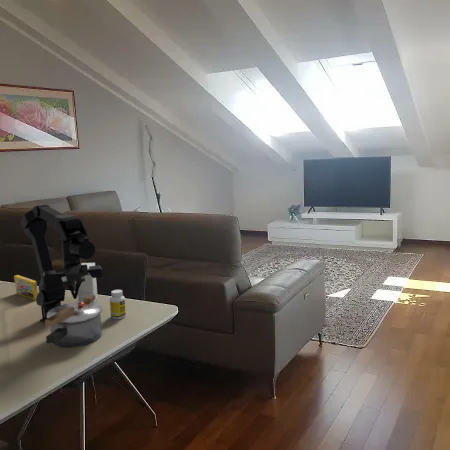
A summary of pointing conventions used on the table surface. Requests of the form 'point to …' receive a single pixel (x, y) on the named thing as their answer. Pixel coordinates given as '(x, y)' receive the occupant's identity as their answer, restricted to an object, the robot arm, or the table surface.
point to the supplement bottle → (117, 304)
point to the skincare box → (88, 286)
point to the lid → (73, 312)
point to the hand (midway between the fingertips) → (75, 298)
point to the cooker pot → (75, 333)
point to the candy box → (26, 287)
